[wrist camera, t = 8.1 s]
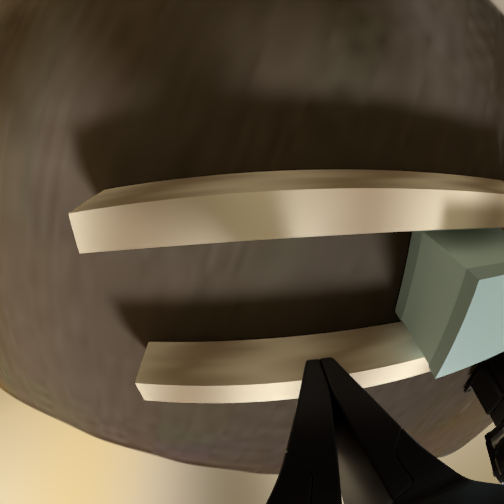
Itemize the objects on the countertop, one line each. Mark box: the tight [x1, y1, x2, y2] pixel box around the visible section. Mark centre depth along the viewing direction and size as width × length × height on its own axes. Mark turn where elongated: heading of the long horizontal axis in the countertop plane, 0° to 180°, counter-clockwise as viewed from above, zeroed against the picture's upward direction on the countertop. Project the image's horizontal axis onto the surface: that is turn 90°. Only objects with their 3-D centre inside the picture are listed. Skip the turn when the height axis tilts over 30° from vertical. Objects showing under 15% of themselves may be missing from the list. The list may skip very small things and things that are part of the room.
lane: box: [68, 169, 504, 403], centre depth 12 cm, size 20×10×3 cm, turn 93°
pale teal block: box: [395, 227, 504, 379], centre depth 11 cm, size 6×5×5 cm
